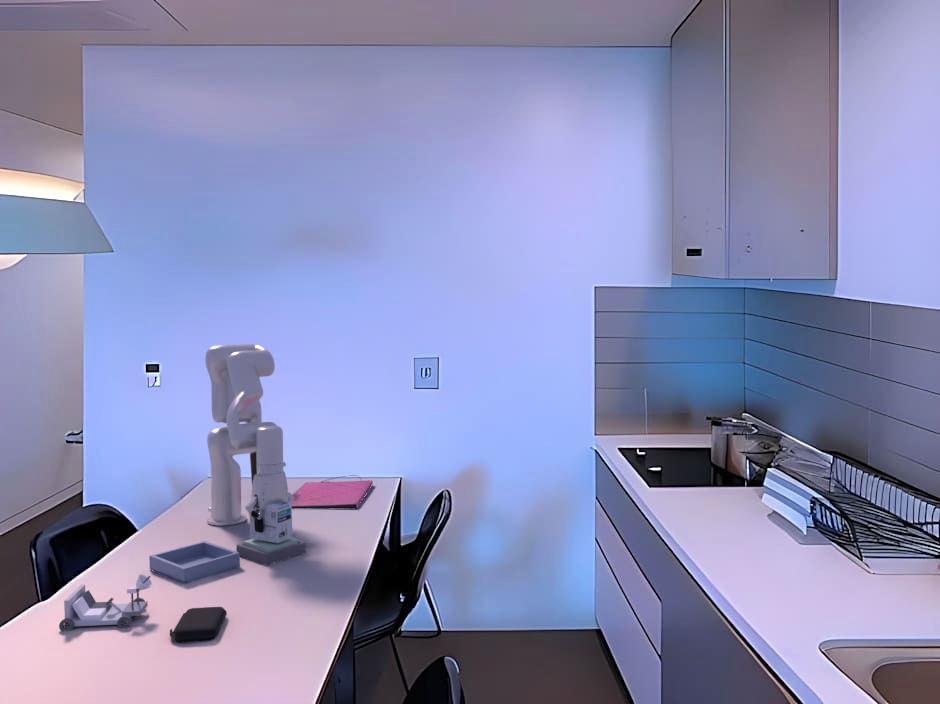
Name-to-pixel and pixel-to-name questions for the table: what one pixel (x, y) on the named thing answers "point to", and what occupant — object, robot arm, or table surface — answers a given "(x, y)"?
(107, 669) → the table surface
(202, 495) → the table surface
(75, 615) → the toy car
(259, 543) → the pad
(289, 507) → the light bulb box
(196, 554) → the tray
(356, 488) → the laptop bag
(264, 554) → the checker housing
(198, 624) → the carrying case or bag
